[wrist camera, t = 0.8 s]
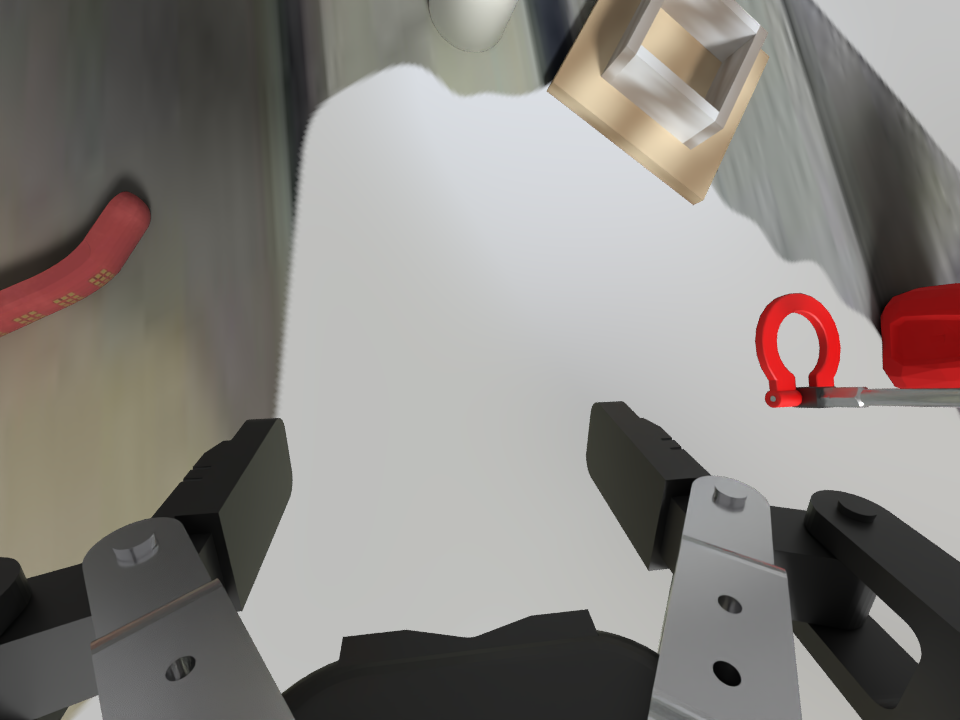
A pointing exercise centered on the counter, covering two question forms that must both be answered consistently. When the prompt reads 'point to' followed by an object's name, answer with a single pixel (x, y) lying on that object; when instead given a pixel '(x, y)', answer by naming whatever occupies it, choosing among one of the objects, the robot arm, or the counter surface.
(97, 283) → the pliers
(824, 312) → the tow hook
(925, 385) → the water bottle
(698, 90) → the wooden square holder
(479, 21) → the cylindrical container
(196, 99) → the counter surface
